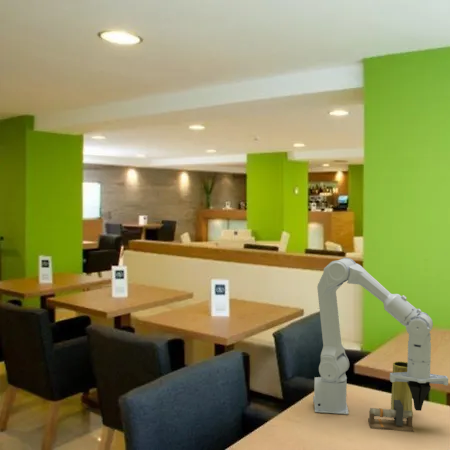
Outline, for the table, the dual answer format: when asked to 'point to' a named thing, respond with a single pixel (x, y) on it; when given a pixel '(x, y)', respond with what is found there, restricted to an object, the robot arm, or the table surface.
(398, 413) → the dark grey square frame
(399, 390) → the vase
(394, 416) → the pipe stand
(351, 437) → the table surface
